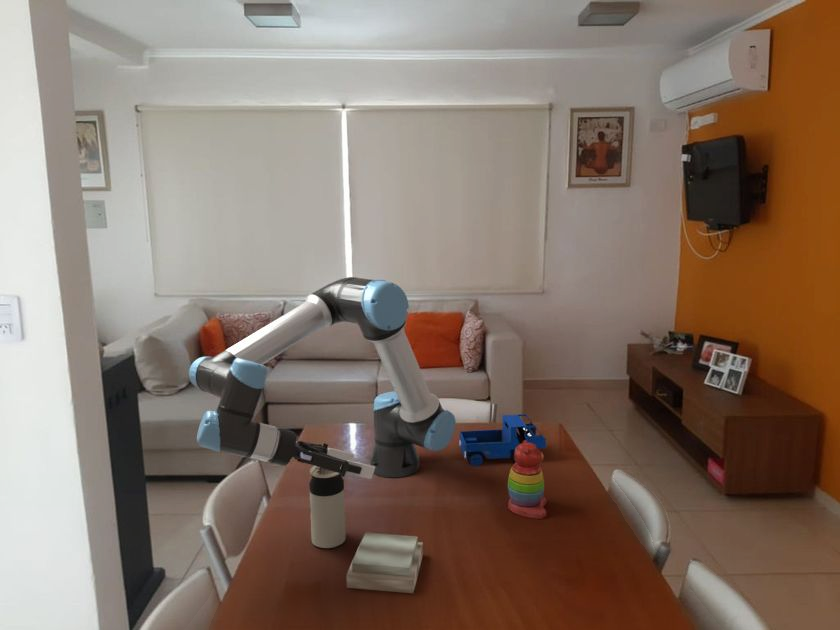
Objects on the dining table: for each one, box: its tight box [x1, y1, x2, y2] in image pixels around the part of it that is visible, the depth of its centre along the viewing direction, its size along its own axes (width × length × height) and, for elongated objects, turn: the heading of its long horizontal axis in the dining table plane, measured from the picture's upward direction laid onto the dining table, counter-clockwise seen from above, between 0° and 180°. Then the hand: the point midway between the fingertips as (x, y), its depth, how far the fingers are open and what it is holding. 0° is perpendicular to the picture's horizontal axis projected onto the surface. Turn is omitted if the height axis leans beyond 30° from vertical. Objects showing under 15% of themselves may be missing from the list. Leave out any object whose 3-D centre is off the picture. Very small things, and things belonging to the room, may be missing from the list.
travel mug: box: [308, 465, 346, 549], centre depth 141 cm, size 8×8×18 cm
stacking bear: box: [507, 440, 547, 520], centre depth 156 cm, size 11×10×18 cm
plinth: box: [345, 532, 424, 594], centre depth 131 cm, size 14×14×5 cm
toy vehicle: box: [459, 413, 547, 467], centre depth 189 cm, size 25×12×12 cm, turn 96°
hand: (362, 465), depth 137 cm, fingers open, 13 cm apart
